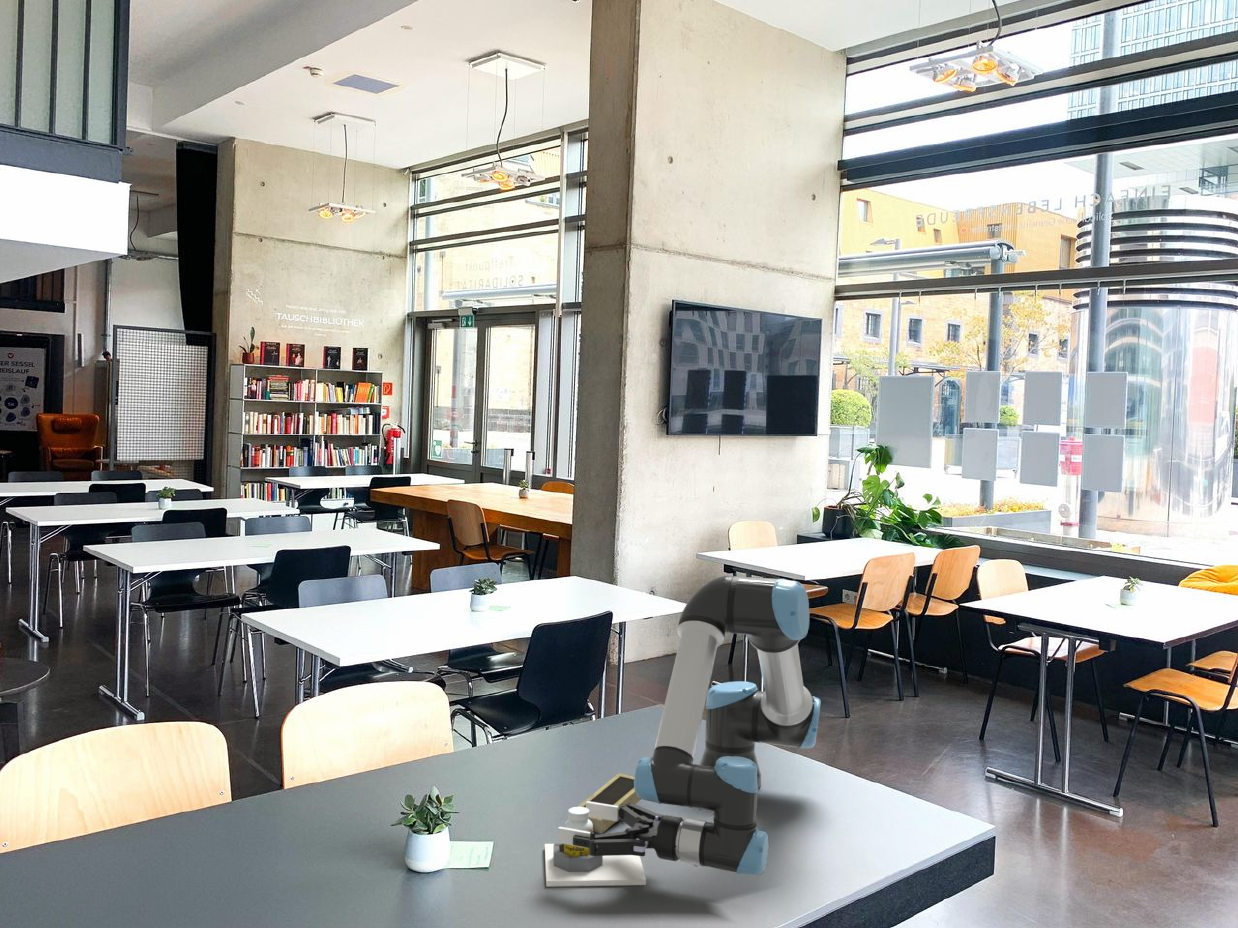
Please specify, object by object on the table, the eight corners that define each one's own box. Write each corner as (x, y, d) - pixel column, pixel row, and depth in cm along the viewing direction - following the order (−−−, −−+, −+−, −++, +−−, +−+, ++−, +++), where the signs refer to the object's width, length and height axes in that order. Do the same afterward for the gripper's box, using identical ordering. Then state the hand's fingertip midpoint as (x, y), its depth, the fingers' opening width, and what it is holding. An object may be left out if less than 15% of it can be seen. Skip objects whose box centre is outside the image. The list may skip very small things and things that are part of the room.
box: (651, 799, 216) (649, 778, 215) (595, 851, 197) (593, 829, 196) (619, 792, 220) (617, 771, 220) (562, 842, 202) (559, 820, 201)
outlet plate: (636, 847, 194) (636, 830, 194) (645, 884, 178) (646, 865, 178) (544, 848, 192) (545, 831, 192) (546, 886, 176) (546, 867, 176)
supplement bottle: (596, 857, 187) (597, 806, 187) (587, 868, 182) (588, 817, 181) (569, 853, 188) (570, 803, 188) (559, 864, 183) (560, 813, 183)
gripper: (659, 889, 166) (545, 867, 173) (699, 834, 190) (596, 817, 197) (661, 845, 166) (546, 825, 173) (700, 795, 189) (597, 779, 197)
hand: (572, 820), depth 185 cm, fingers open, 13 cm apart
